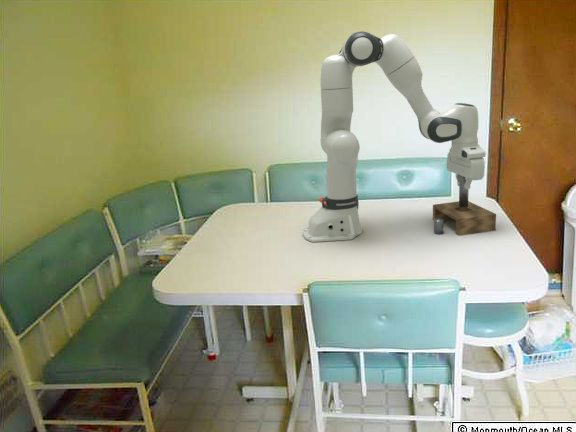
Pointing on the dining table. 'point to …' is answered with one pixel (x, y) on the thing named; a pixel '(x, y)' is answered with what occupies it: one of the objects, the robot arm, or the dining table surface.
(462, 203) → the long pin
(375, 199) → the dining table surface
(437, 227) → the short pin
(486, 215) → the bridge
